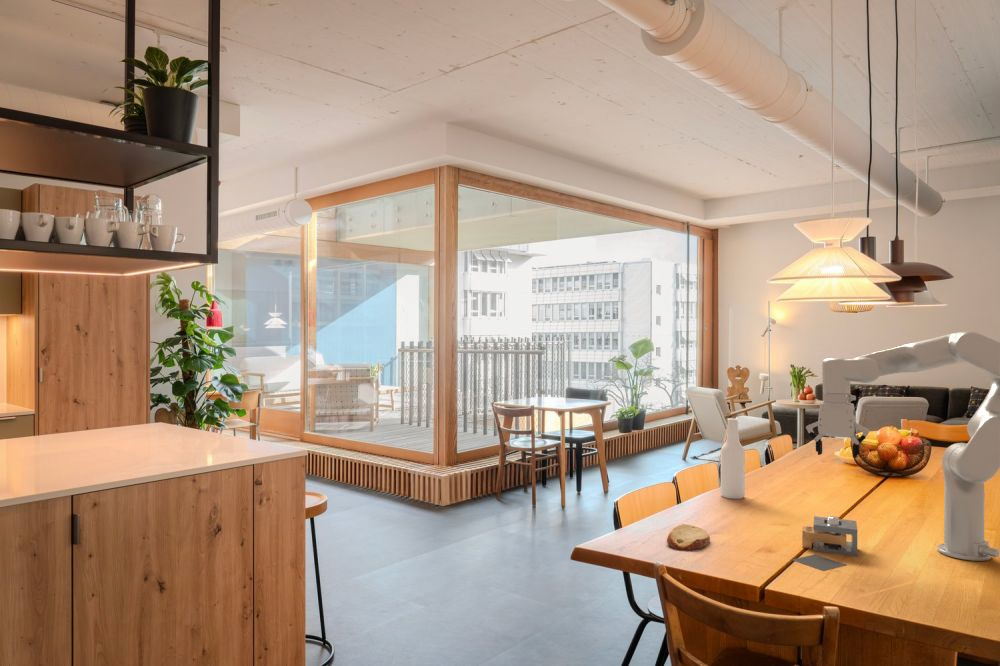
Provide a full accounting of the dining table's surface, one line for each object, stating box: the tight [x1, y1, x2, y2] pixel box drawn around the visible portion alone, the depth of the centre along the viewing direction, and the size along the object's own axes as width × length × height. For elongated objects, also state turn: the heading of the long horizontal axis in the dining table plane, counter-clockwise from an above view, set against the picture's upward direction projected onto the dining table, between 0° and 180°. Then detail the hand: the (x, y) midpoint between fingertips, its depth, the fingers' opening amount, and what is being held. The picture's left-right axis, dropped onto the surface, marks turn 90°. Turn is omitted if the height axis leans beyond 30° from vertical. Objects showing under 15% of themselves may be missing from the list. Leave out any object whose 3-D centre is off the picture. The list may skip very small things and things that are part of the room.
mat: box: [791, 554, 847, 572], centre depth 187 cm, size 10×10×1 cm
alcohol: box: [720, 417, 746, 500], centre depth 263 cm, size 9×9×30 cm
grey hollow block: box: [801, 515, 858, 558], centre depth 199 cm, size 14×10×8 cm
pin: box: [826, 515, 840, 548], centre depth 199 cm, size 3×3×10 cm
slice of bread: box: [666, 523, 711, 552], centre depth 208 cm, size 18×18×4 cm
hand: (837, 455), depth 206 cm, fingers open, 9 cm apart
